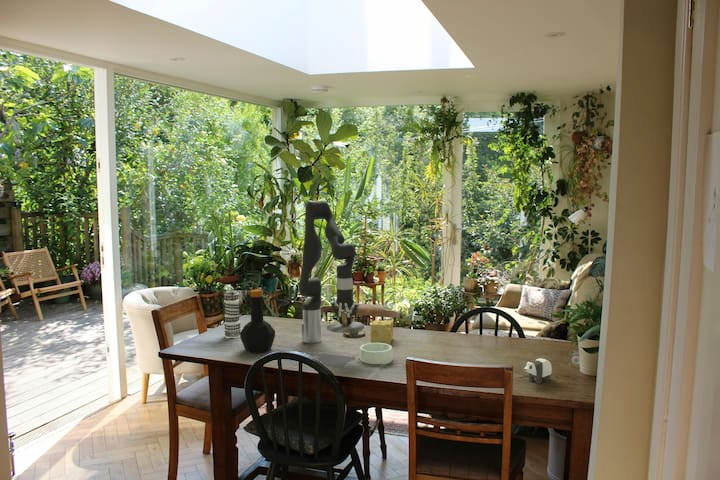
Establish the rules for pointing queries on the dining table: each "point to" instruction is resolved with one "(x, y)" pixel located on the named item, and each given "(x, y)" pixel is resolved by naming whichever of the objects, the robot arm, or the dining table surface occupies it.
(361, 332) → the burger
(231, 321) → the decorative candle
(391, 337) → the cheese
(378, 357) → the bowl
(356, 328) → the lid
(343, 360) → the mat
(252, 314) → the bottle
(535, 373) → the giant panda
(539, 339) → the dining table surface
